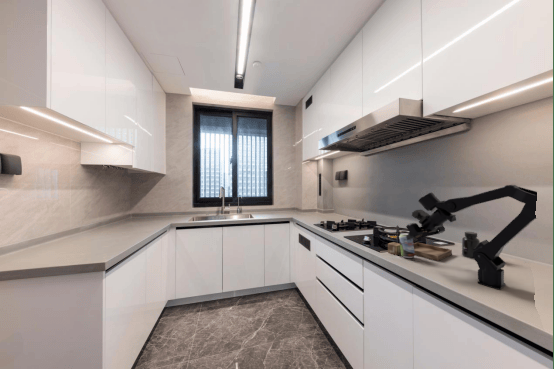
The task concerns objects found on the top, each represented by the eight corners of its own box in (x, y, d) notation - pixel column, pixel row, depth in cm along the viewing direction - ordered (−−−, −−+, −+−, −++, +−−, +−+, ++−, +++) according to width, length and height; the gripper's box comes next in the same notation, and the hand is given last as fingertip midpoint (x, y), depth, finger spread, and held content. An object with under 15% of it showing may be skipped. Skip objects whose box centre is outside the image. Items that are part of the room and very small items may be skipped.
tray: (451, 254, 121) (451, 249, 121) (437, 261, 113) (437, 256, 113) (417, 246, 136) (417, 242, 135) (402, 252, 127) (402, 247, 127)
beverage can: (407, 260, 115) (407, 236, 115) (396, 255, 123) (396, 232, 122) (418, 258, 117) (418, 234, 117) (406, 254, 124) (406, 231, 124)
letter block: (402, 253, 125) (402, 244, 125) (397, 255, 123) (396, 246, 122) (393, 251, 130) (393, 242, 129) (387, 253, 127) (387, 243, 127)
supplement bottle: (460, 256, 119) (460, 232, 118) (464, 253, 123) (464, 230, 122) (477, 259, 113) (477, 235, 113) (481, 256, 117) (481, 232, 117)
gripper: (438, 203, 113) (417, 222, 124) (409, 206, 106) (390, 225, 117) (456, 222, 106) (432, 240, 117) (426, 227, 99) (403, 245, 110)
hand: (414, 237), depth 115 cm, fingers open, 9 cm apart
